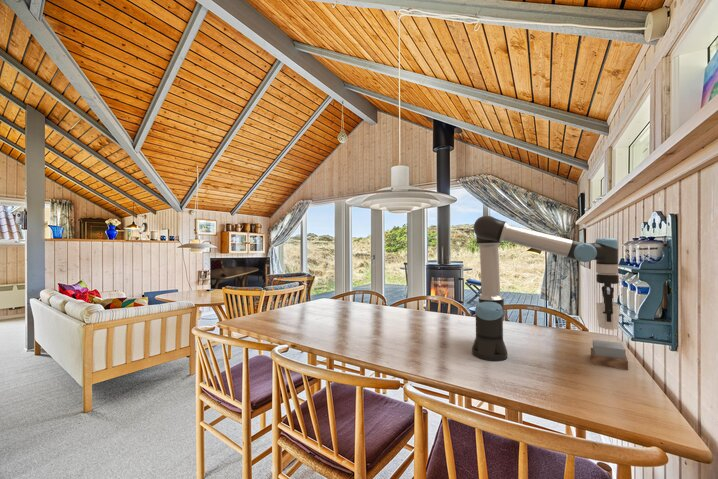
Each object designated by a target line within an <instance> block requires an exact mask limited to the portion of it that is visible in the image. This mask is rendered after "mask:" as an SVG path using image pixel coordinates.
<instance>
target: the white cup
mask: <svg viewBox="0 0 718 479" xmlns="http://www.w3.org/2000/svg"><path fill="white" fill-rule="evenodd" d="M595 304H596V315H597V323H598V328H601V329H605V314H603V312H605V304H604V302H596V303H595ZM620 306H621V305H620V304H617V303H613V331H615V330H619V323H620V311H621V310H620V308H621V307H620Z"/></svg>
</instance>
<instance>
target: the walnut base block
mask: <svg viewBox="0 0 718 479" xmlns="http://www.w3.org/2000/svg"><path fill="white" fill-rule="evenodd" d="M590 364H591V365H597V366H603V367H607V368H615V369H619V368H620V369H621V370H626V371H629V361H628V358H627V356H626V360H625V359H618V358H611V357H604V356H597V355H595V353H594V350H593V347H590Z"/></svg>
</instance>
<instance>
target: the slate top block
mask: <svg viewBox="0 0 718 479" xmlns="http://www.w3.org/2000/svg"><path fill="white" fill-rule="evenodd" d="M592 348H593V350H594V353H595V355H597V356H604V357H611V358H618V359H625V360H626V357H627V355H626V354H627V353H626V352H627V351H626V348H625V347H624V345H623V343H621V342H615V341H611V340H610V341H609V340H602V339H601V340H599V339H592Z"/></svg>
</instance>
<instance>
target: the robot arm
mask: <svg viewBox="0 0 718 479" xmlns="http://www.w3.org/2000/svg"><path fill="white" fill-rule="evenodd" d="M473 231H474V232H473V233H474V234H475V238H476V241H475V242H476V245H477V246H478V247H479V256H480V257H479V258H480V260H479V261H480V283H481V289H480V290H481V294H480V295H479V296H478V302H477V303H476V305H475V309H474V312H475V338H474V342H473V343H472V344H473V345H472V348H471V353H472V355H473V356H475V357H476V358H479V359H481V360H486V361H492V362H496V361H497V362H499V361H505V360H507V359H508V349H507V346H506V344H505V342H504V319H505V316H506V310H505V304H504V303H505V300H504V297H503V296H502V295H501V286H500V285H501V284H500V283H501V282H500V262H499V260H500V257H499V256H500V255H499V246H500V245H501V244H502V242H507V243H511V244H515V245H518V246H523V247H525V248H529V249H535V250H538V251H542V252H546V253H549V254H552V255H553V254H554V255H557V256H561V257H563V259H565V260H570V261H578V262H581V263H588V262H592V261H596V262H595V266H596V267H595V272H596V276H595V277H596V283H598V284H603V285H602V286H601V293H602V294H601V296H602V298H603V303H604V304H605V312H603V314H605V328H604V330H611V331H614V329H613V304H614V302H613V299H614V292H615V291H614V290H615V288H614V287H612V285H617V284H619V282H620V281H619V280H620V279H619V275H618V274H619V269H621V267H620V268H618V267H619V246H618V245H619V244H618V243H619V242H618V239H616V238H614V237H613V238H610V237H609V238H608V237H605V238H603V237H602V238H596V239H595V241H594V242H592V243H591V242H582V241H576V240H572V239H569V238H566V237H561V236H557V235H553V234H549V233H545V232H541V231H535V230H533V229H528V228H524V227H520V226H516V225H512V224H509V223H508V222H507V221H506V220H502V219H499V218H495V217H494V216H491V215H481V216H479V217H478V218H477V219H476V220H475V222H474V224H473Z"/></svg>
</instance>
